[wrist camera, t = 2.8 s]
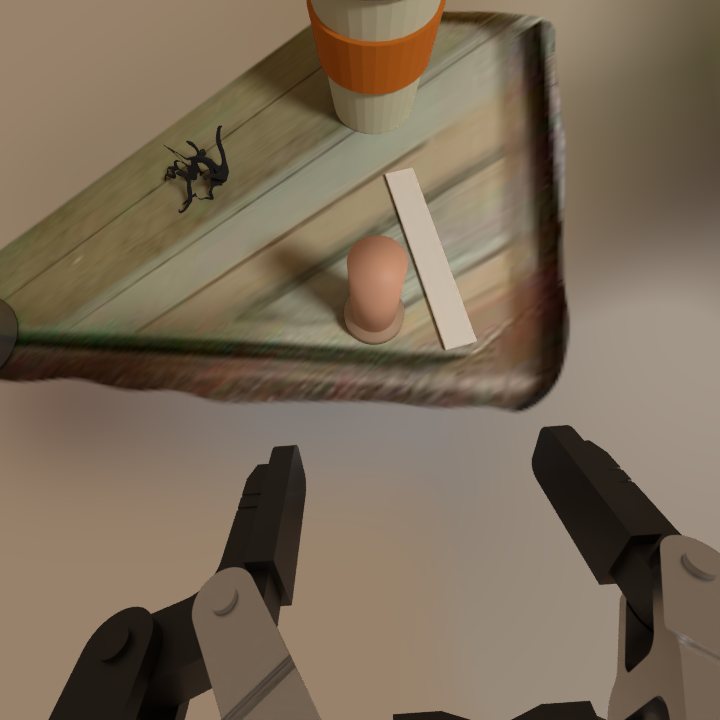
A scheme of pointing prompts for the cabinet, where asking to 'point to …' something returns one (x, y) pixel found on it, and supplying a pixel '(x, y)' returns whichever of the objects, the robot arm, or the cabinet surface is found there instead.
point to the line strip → (430, 260)
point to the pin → (375, 289)
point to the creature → (216, 172)
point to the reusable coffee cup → (374, 56)
